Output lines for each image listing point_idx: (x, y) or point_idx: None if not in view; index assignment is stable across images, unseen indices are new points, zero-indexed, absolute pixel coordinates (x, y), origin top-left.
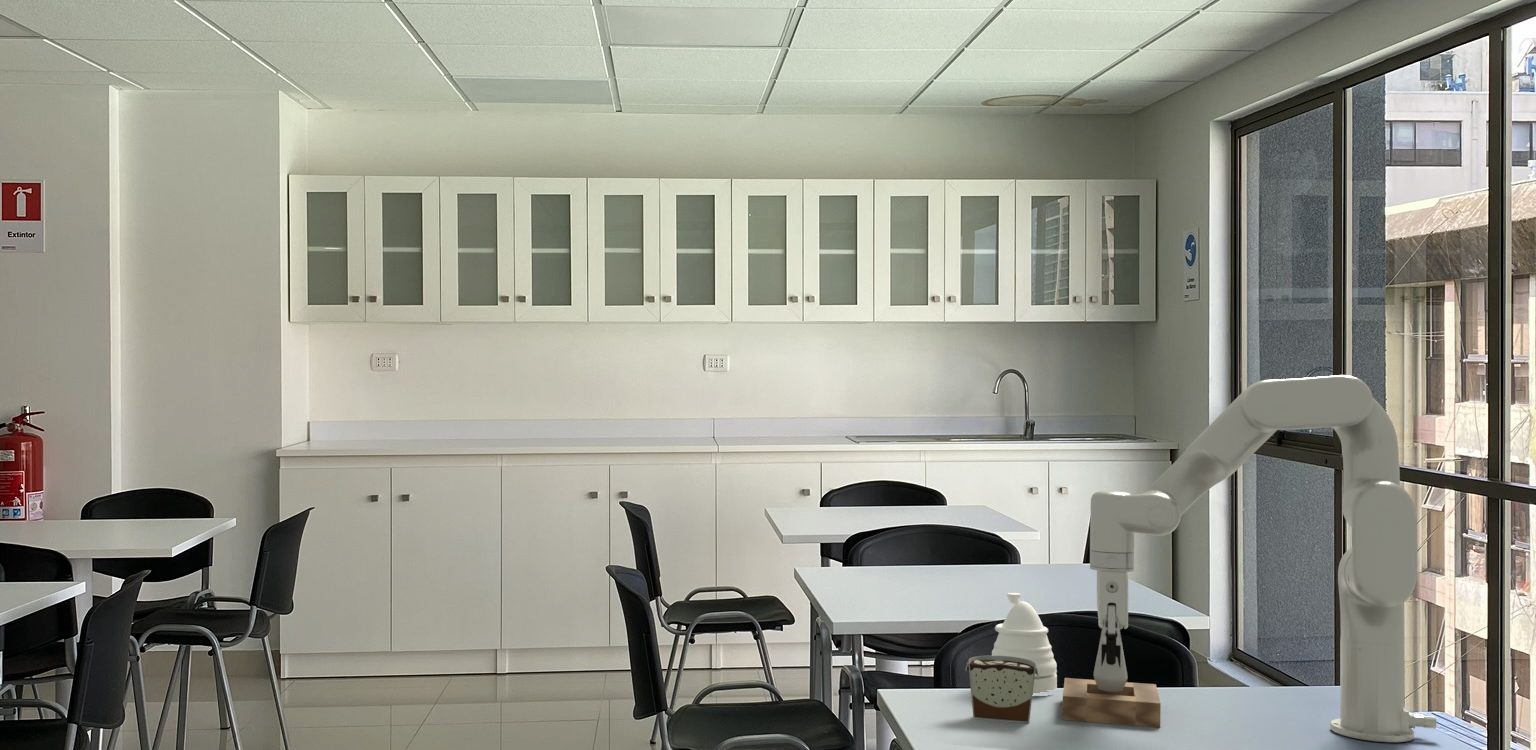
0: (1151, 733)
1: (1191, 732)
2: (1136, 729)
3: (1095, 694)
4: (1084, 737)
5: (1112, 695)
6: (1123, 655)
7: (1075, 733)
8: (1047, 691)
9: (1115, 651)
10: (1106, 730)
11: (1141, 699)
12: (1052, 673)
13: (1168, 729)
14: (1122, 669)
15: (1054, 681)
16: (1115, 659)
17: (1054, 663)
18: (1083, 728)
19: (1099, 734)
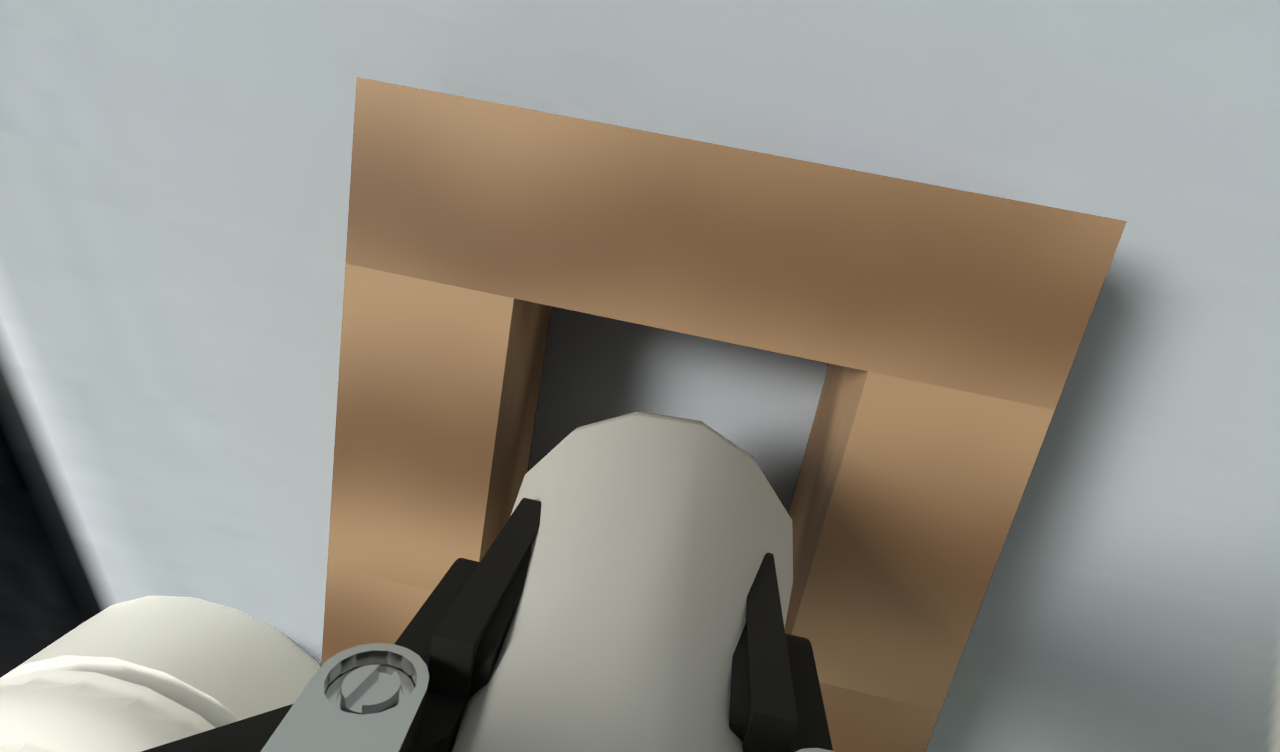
0: (1196, 314)
1: (1178, 21)
2: (1085, 382)
3: (823, 631)
4: (1274, 707)
5: (844, 526)
6: (683, 563)
7: (1178, 728)
8: (305, 682)
9: (825, 737)
10: (1110, 559)
11: (976, 345)
12: (198, 723)
13: (1085, 171)
14: (757, 518)
15: (214, 669)
16: (814, 664)
17: (103, 746)
18: (1061, 664)
19: (1207, 617)
